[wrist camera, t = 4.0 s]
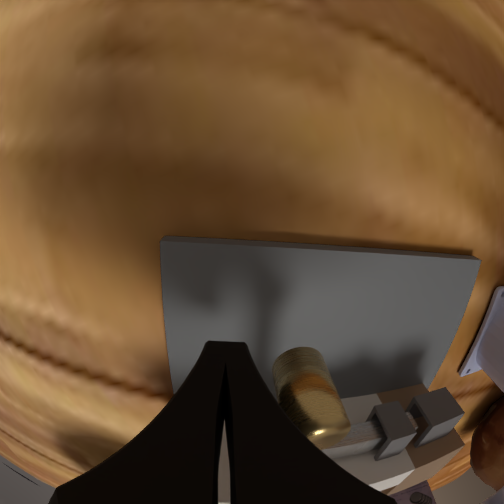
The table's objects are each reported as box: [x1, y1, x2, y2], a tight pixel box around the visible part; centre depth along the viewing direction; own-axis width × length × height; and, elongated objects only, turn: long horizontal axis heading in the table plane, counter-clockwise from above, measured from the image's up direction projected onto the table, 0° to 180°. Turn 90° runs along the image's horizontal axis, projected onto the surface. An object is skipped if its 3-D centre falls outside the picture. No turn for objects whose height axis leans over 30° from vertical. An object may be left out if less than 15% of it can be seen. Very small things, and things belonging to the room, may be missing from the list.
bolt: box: [272, 347, 418, 459], centre depth 8 cm, size 8×6×3 cm
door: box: [160, 236, 481, 504], centre depth 10 cm, size 17×13×7 cm
